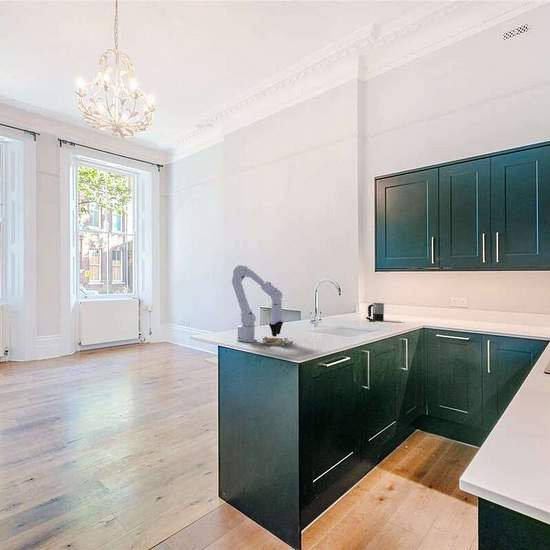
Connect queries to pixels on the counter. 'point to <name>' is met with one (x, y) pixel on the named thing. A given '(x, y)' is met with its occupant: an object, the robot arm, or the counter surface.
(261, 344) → the mat
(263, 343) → the gate posts
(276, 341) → the gate
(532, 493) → the counter surface
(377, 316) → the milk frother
